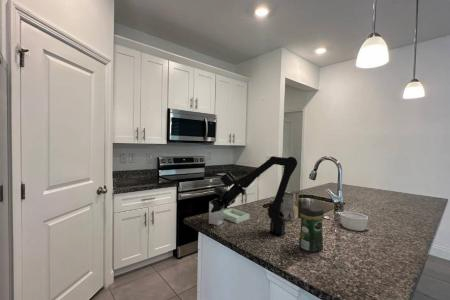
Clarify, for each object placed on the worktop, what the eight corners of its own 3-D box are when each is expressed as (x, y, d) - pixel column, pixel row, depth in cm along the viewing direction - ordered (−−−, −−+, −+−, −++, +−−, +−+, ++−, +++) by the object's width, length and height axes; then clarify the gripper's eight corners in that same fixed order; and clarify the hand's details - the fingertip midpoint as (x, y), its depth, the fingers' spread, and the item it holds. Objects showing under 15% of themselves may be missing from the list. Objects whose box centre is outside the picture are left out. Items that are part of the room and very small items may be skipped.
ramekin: (340, 221, 127) (340, 210, 127) (366, 226, 121) (367, 214, 120) (339, 228, 116) (339, 215, 116) (368, 234, 109) (369, 220, 109)
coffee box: (288, 215, 136) (288, 190, 136) (298, 217, 132) (299, 191, 132) (282, 219, 129) (283, 192, 128) (293, 221, 125) (293, 194, 124)
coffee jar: (310, 242, 98) (312, 202, 98) (326, 249, 91) (327, 206, 90) (295, 246, 94) (296, 204, 93) (309, 254, 86) (311, 209, 86)
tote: (249, 219, 126) (249, 214, 126) (236, 223, 119) (236, 218, 119) (231, 212, 137) (231, 208, 137) (218, 216, 130) (218, 211, 130)
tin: (223, 222, 120) (224, 200, 120) (218, 225, 115) (218, 203, 114) (214, 220, 123) (214, 199, 123) (208, 223, 117) (209, 201, 117)
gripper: (230, 179, 125) (214, 195, 130) (214, 184, 108) (196, 202, 114) (243, 194, 121) (225, 210, 127) (228, 201, 105) (208, 220, 110)
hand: (214, 210), depth 119 cm, fingers closed on tin, 6 cm apart
